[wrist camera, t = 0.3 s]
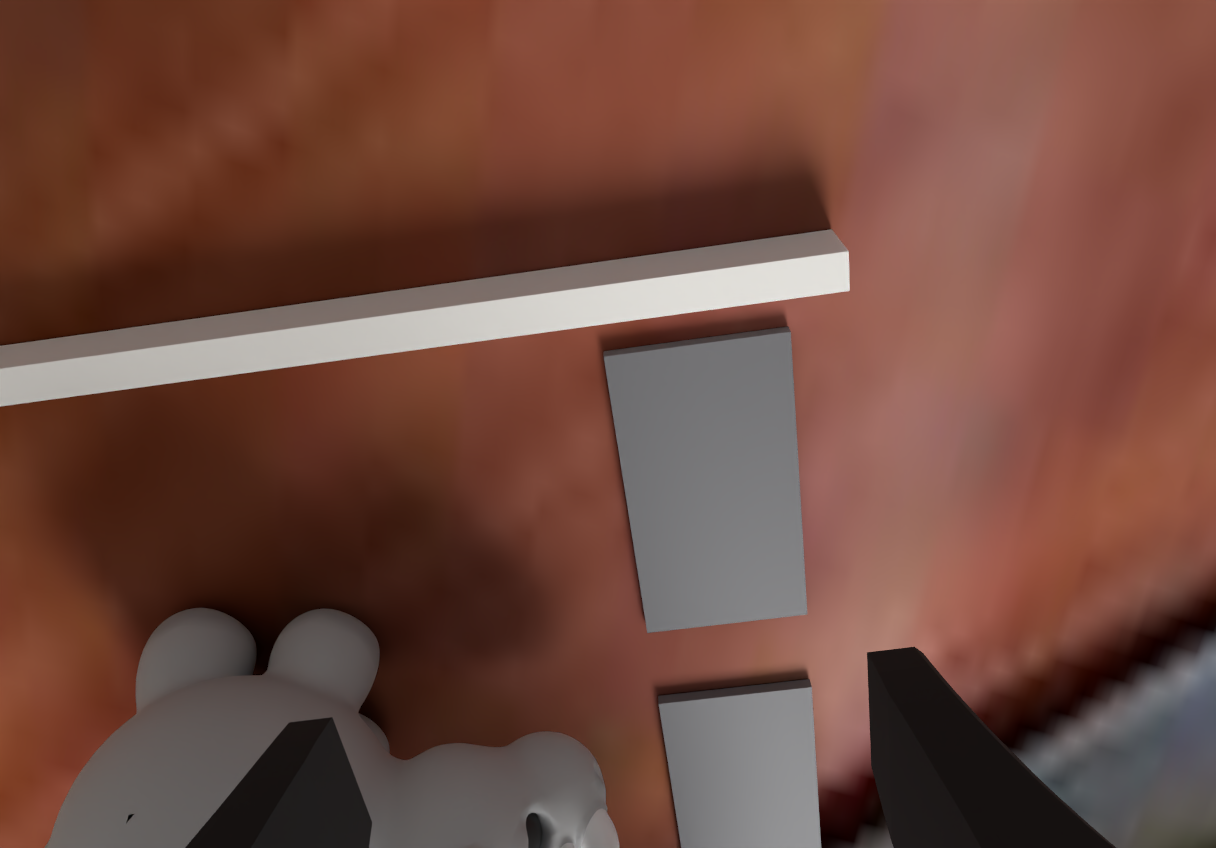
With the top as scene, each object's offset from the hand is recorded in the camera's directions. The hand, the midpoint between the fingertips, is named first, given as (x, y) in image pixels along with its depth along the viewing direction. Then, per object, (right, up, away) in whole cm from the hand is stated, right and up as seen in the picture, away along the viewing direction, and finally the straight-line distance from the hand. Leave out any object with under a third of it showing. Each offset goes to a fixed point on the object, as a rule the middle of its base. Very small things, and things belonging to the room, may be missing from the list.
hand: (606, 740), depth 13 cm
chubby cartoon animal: (-6, -3, +13) cm, 14 cm away
